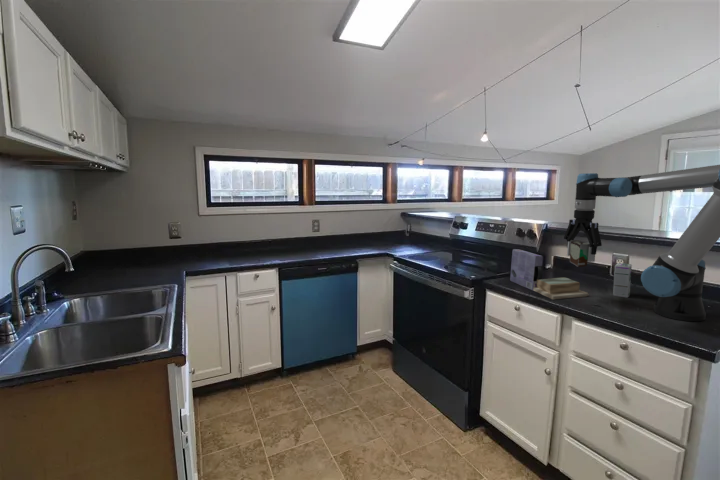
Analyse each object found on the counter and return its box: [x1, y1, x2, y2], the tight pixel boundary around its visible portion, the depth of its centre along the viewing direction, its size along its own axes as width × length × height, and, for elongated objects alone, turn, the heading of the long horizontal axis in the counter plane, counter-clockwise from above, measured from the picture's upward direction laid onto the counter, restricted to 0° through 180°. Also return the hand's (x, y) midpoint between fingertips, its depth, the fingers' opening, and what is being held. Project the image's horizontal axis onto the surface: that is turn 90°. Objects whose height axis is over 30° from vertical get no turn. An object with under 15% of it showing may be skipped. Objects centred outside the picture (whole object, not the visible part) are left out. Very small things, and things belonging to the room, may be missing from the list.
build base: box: [532, 276, 589, 300], centre depth 170 cm, size 18×18×6 cm
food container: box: [569, 239, 590, 268], centre depth 155 cm, size 12×6×10 cm, turn 169°
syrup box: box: [612, 262, 633, 298], centre depth 162 cm, size 6×6×14 cm
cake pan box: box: [509, 248, 544, 291], centre depth 181 cm, size 19×5×18 cm, turn 12°
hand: (580, 258), depth 157 cm, fingers closed on food container, 11 cm apart
